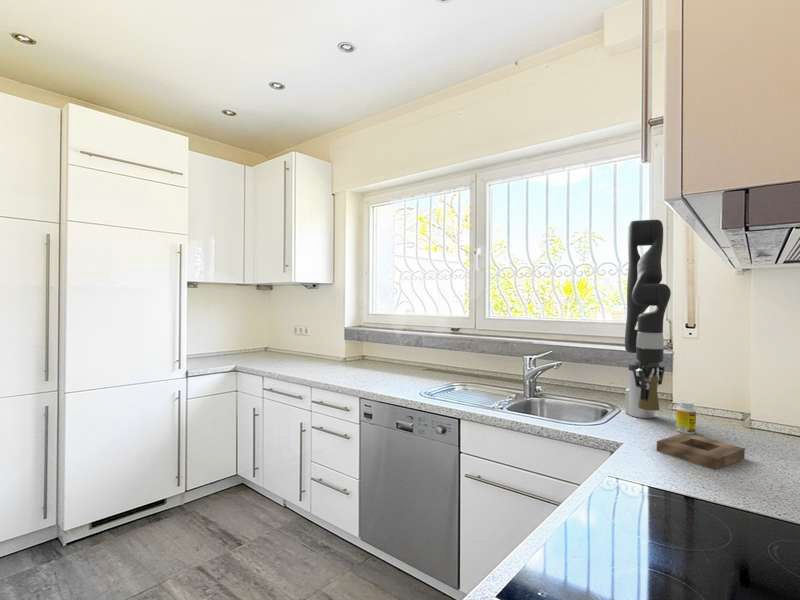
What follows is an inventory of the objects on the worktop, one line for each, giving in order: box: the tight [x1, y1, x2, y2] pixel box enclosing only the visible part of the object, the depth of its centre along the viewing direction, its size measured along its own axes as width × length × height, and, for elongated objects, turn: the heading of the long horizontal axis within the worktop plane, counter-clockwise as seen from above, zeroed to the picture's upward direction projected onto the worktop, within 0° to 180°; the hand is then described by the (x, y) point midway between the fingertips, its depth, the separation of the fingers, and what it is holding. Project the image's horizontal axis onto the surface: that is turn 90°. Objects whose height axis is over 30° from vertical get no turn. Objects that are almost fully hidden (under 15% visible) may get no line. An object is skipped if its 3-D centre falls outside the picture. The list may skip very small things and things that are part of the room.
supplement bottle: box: [675, 400, 697, 435], centre depth 147 cm, size 6×6×10 cm
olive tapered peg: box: [638, 375, 660, 412], centre depth 138 cm, size 6×6×11 cm
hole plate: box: [656, 432, 746, 471], centre depth 127 cm, size 16×16×3 cm
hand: (648, 399), depth 138 cm, fingers closed on olive tapered peg, 4 cm apart
